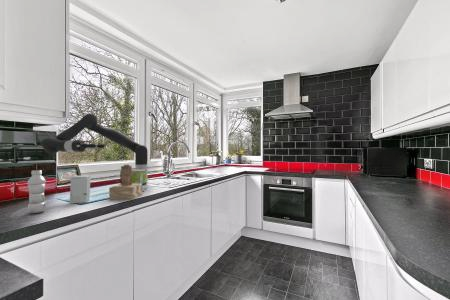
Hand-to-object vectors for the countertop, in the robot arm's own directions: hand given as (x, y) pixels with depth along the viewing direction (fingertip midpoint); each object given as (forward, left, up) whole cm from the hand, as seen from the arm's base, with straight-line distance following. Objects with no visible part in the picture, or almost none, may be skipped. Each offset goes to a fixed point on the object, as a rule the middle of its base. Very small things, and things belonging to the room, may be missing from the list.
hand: (100, 146), depth 130 cm
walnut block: (+2, +18, -25) cm, 31 cm away
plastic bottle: (+35, -8, -32) cm, 48 cm away
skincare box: (+15, -2, -32) cm, 36 cm away
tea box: (-18, +13, -32) cm, 39 cm away
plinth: (+2, +18, -32) cm, 37 cm away
